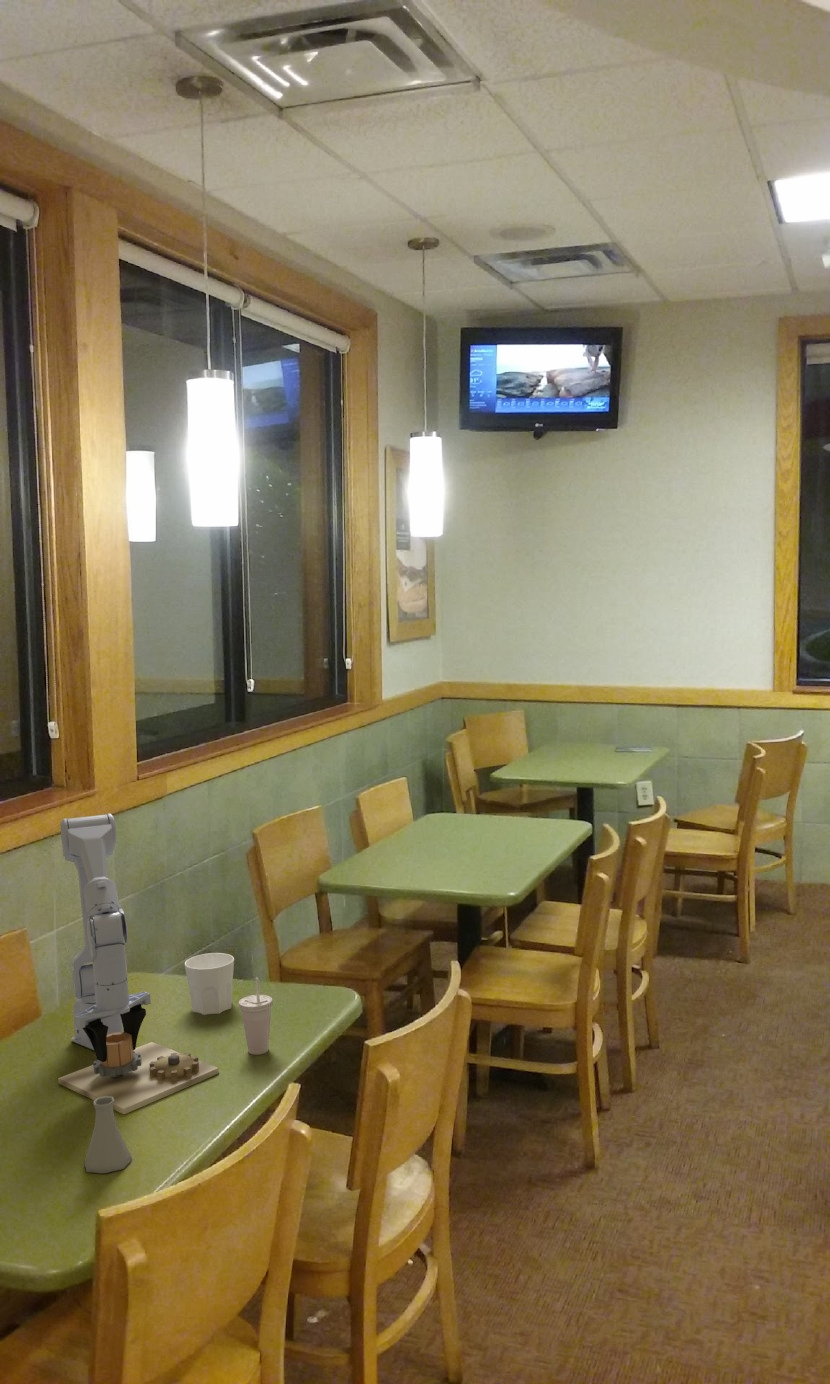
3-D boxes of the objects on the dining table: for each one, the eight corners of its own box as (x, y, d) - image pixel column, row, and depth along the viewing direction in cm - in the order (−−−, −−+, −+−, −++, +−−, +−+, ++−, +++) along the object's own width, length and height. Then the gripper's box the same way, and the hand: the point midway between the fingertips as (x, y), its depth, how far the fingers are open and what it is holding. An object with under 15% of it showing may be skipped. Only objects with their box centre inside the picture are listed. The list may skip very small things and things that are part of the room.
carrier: (58, 1083, 211) (56, 1059, 210) (152, 1047, 225) (150, 1024, 225) (123, 1114, 197) (122, 1088, 197) (218, 1073, 212) (217, 1049, 211)
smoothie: (269, 1058, 218) (264, 984, 216) (236, 1057, 219) (231, 983, 217) (280, 1044, 224) (275, 972, 222) (247, 1043, 225) (243, 971, 224)
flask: (88, 1154, 184) (84, 1092, 183) (135, 1150, 185) (131, 1088, 184) (79, 1177, 177) (74, 1113, 176) (128, 1173, 178) (124, 1109, 177)
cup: (189, 1001, 249) (186, 955, 248) (237, 997, 250) (234, 951, 249) (186, 1018, 239) (182, 971, 238) (235, 1014, 240) (232, 967, 239)
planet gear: (84, 1069, 210) (82, 1041, 209) (124, 1053, 216) (121, 1025, 215) (111, 1081, 204) (108, 1052, 204) (150, 1064, 210) (148, 1036, 210)
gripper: (87, 997, 200) (93, 1074, 202) (158, 973, 211) (163, 1046, 213) (64, 988, 205) (70, 1064, 207) (135, 965, 216) (140, 1037, 217)
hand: (116, 1054), depth 210 cm, fingers closed on planet gear, 5 cm apart
